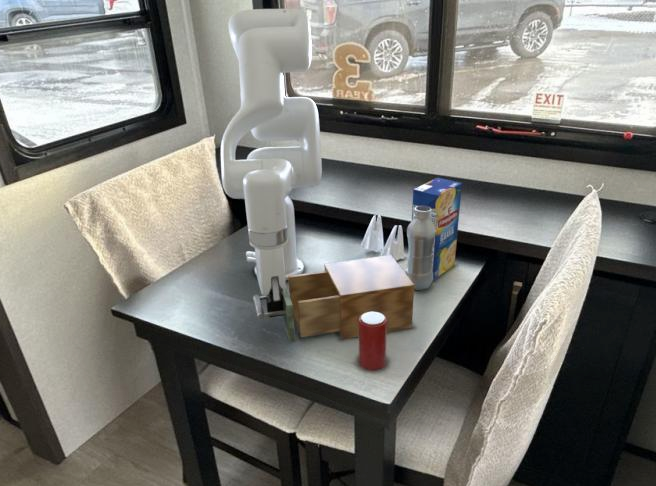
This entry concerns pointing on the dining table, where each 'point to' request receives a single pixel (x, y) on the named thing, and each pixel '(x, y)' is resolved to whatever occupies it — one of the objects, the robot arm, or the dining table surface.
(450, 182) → the blue tall box
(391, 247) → the shaker set
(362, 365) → the can
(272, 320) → the dining table surface
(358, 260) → the cabinet
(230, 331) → the dining table surface
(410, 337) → the dining table surface
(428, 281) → the silver bottle
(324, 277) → the drawer
